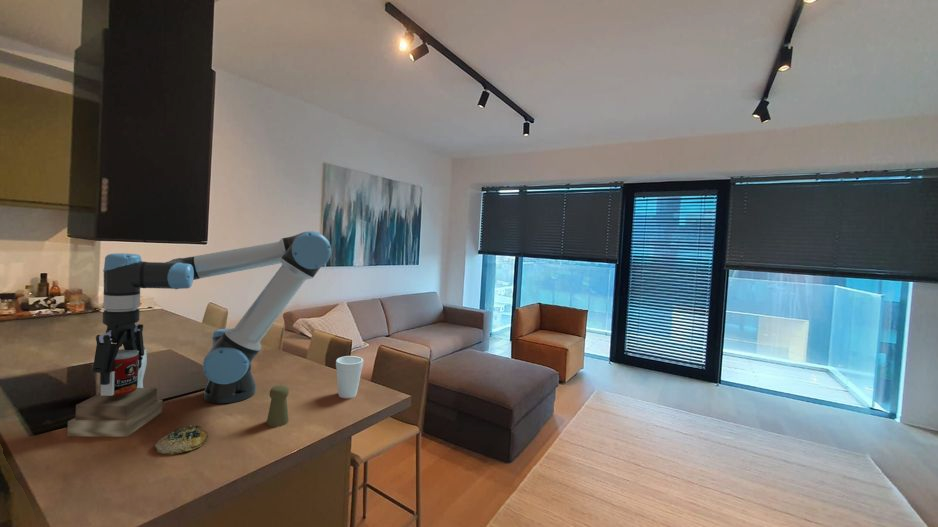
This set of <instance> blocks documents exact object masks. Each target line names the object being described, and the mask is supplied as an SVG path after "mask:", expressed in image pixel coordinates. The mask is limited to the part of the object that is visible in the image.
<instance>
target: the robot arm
mask: <svg viewBox="0 0 938 527" xmlns="http://www.w3.org/2000/svg"><path fill="white" fill-rule="evenodd" d="M331 255H332V246H331V243H330V241H329V240H328V238H327V237H325V236H324V235H323V234H322V233H319V232H317V231H314V230H313V231H312V230H311V231H304V232H300V233H298V234H296V235H291V236H288V237H283V238H280V240H279V241H275V242H269V243H264V244H258V245H253V246H246V247H245V246H244V247H241V248H240V247H239V248H234V249H229V250H222V251H217V252H216V251H215V252H211V253H205V254H199V255H193V256H188V257H178V258H173V259H171V260H169V261H166V262H155V261H154V262H152V261H151V262H150V261H143V260H142V255H140V254H138V253H137V254H136V253H118V252H117V253H109V254H107V255H106V256H105V257H104V262H103V264H104V265H103V266H104V267H103V270H102V272H103V302H102V303H103V304H102V305H103V306H102V308H103V309H104V310H103V311H102V323H103V325H105V326H106V329H105V330H106V331H105V333H103V334H97V335H96V336H95V340H96V342H95V343H96V347H95V354H94V358H93V359H94V360H93V366H92V373H95V374H96V373H98V374H99V375H100V377H99V384H100V393H101V396H112V395H114V378H115V371H112V369H113V366H114V363H115V357H116V356H117V353H118V350H120V348H122V346H123V349H125V350H137V351H139V352H138V353H139V359H138V360H142V359H143V357H141V356H144V347H145V346H144V336H143V332H144V331H143V330H144V324H142V323H141V324H140V323H138V322H140V309H139V307H141V289H170V290H180V289H181V290H182V289H190V288H192V285H193V283H194V281H195V280H196V281H197V280H199V279H204V278H209V277H214V276H215V277H216V276H220V275H225V274H232V273H237V272H243V271H246V270H252V269H257V268H262V267H267V266H268V267H269V266H273V265H278V264H281V266H280V267H279V269H278V270H277V271H276V272H275V274H274V275H273V276H272V278H270V280H269V282H268V283H267V284H266V285H265V286H264V288H263V289H262V291H261V292H260V293H259V295H258V296H257V297H256V299H255V300H254V301H253V303H252V304H251V306H250V307H249V308H248V309H247V311H246V312H245V313H244V315H243V316H242V317H241V318H240V320H239V321H238V323H237V324H236V325H235V326H234V328H233V327H231V328H221V329H216V330H214V331H213V333H212V337H211V339H212V346H211V348H210V350H209V351H208V353H207V355H206V356H205V357H204V359H203V363H202V370H203V373H204V375H205V377H206V378H207V379H208V381H207V383H206V387H205V389H204V391H203V400H205V401H206V402H208V403H212V404H230V403H231V404H232V403H235V402H241V401H245V400H247V399H249V398H251V397H253V396H254V395H255V394H256V390H257V388H256V387H257V386H256V381H255V379H254V376H253V375H254V374H253V372H252V362H253V360H254V359H255V358H256V357H257V355H258V353H259V352H260V351H261V349H262V345H261V341H262V339H263V338H264V337H265V336H266V334H267V333H268V331H269V330H270V329H271V327H272V326H273V325H274V323H275V322H276V321H277V319H278V318H279V316H280V315H281V314H282V313H283V312H284V310H285V309H286V307H287V306H288V304H289V303H290V302H291V300H292V299H293V297H294V296H295V295H296V294H297V292H299V289H300V288H301V287H302V285H303V284H304V283H305V281H307V280H310V279H313V278H314V277H315V275H316V274H317V273H318V272H319V270H320V269H321V268H322V267H323V266H325V264H327V263H328V262H329V261H330V259H331ZM137 323H138V324H137ZM107 367H108V368H107Z"/></svg>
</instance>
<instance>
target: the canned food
mask: <svg viewBox="0 0 938 527" xmlns="http://www.w3.org/2000/svg"><path fill="white" fill-rule="evenodd" d="M138 359H139V353H138V351H137V350H125V349H124V348H122V349H120V348H119V350H118V353H117V356H116V357H115V363H114V366H113V369H112V371H115V378H114V395H112V396H120V395H125V394H129V393H131V392H133V391H135V390H136V388H137V386H138ZM107 368H108V367H107Z"/></svg>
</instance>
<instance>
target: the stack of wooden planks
mask: <svg viewBox="0 0 938 527" xmlns="http://www.w3.org/2000/svg"><path fill="white" fill-rule="evenodd" d="M157 398H158V388H157V387H143V388H136V390H135V391H133V392H131V393H129V394H125V395H120V396H101V392H100V393H98V394H96V395H94V396H92V397H89V398H88V399H86V400H84V401H81V402H79V403H77V404H76V405H75V417H73V418H71V419H69V420H68V421H67V437H108V438H109V437H110V438H111V437H112V438H113V437H114V438H115V437H116V438H117V437H121V438H123V437H126V438H128V437H129V436H131V435H132V434H133V433H135V432H136V431H138V430H140V428H142V427H143V426H144V425H146V424H148V423H149V422H151V421H152V420H153V419H155V418H157V417H158V416H159V415H161V414H162V413H163V403H164V402H163V399H157Z"/></svg>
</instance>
